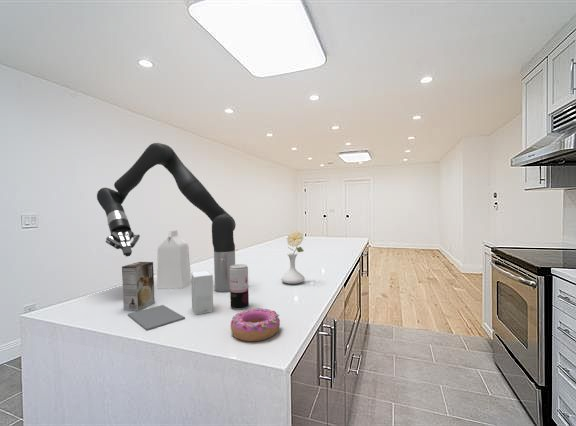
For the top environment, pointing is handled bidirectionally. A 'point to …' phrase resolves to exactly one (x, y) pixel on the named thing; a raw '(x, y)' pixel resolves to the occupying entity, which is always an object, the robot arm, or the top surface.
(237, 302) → the beverage can
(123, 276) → the coffee box
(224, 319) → the top surface
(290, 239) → the flower in vase
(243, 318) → the donut
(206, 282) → the small box
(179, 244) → the milk
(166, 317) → the mat
